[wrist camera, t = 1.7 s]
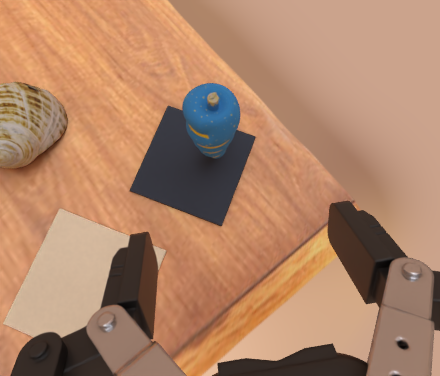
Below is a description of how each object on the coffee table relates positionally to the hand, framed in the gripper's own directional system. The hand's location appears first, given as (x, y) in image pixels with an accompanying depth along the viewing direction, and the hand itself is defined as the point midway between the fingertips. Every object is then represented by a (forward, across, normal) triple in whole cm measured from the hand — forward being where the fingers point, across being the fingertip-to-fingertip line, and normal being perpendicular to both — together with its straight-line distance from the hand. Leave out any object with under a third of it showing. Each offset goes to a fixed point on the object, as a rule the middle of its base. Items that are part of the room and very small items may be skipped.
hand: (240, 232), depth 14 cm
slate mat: (+25, +3, +9) cm, 27 cm away
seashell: (+30, +23, +5) cm, 38 cm away
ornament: (+25, 0, +9) cm, 27 cm away
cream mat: (+16, +17, +18) cm, 30 cm away
